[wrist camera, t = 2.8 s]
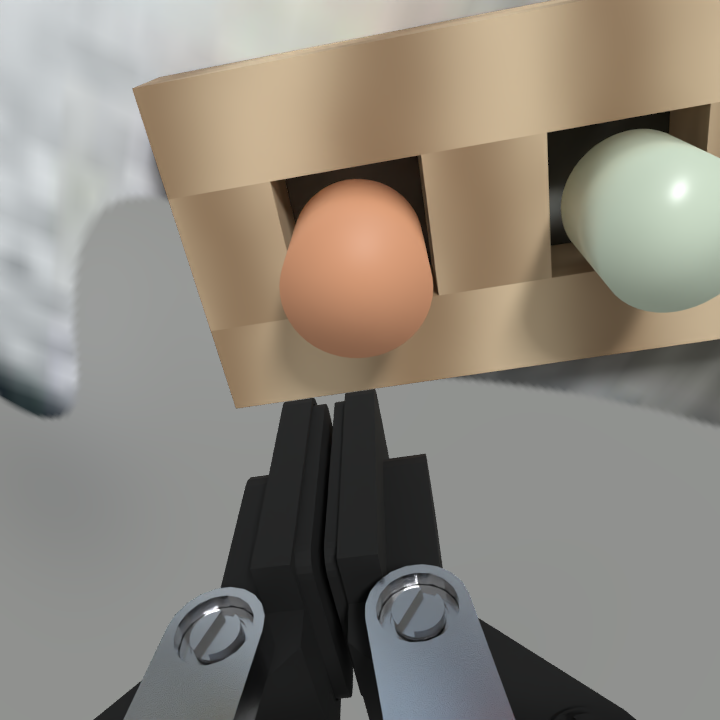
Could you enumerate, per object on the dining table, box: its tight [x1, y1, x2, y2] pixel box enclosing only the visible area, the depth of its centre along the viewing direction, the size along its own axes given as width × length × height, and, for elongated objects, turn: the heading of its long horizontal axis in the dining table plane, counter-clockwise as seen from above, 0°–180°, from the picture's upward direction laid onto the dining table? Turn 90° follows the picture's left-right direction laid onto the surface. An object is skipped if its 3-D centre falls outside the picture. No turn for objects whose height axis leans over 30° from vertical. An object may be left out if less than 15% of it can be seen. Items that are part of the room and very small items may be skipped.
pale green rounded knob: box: [561, 129, 720, 313], centre depth 19 cm, size 4×4×4 cm
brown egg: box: [279, 179, 433, 358], centre depth 20 cm, size 4×4×4 cm
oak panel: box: [132, 0, 720, 408], centre depth 23 cm, size 30×12×3 cm, turn 100°
